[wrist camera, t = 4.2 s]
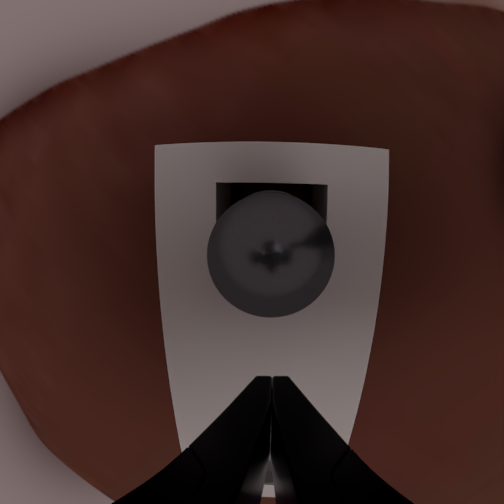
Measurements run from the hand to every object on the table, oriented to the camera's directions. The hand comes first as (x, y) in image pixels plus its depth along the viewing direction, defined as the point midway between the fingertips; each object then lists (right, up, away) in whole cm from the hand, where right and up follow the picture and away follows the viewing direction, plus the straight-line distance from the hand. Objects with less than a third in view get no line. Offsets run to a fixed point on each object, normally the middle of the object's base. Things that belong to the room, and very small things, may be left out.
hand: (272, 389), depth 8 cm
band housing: (0, -2, +12) cm, 12 cm away
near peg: (0, +4, +7) cm, 8 cm away
